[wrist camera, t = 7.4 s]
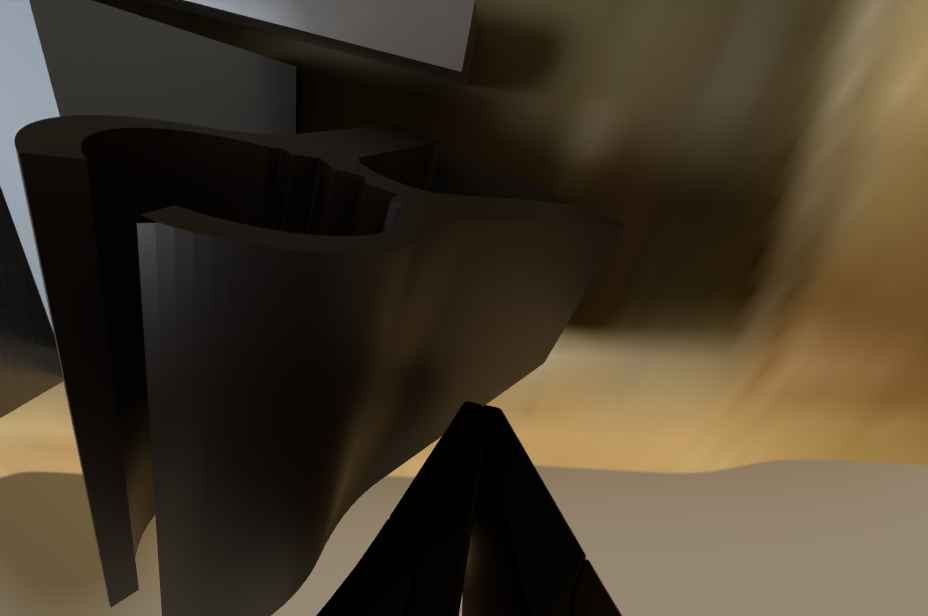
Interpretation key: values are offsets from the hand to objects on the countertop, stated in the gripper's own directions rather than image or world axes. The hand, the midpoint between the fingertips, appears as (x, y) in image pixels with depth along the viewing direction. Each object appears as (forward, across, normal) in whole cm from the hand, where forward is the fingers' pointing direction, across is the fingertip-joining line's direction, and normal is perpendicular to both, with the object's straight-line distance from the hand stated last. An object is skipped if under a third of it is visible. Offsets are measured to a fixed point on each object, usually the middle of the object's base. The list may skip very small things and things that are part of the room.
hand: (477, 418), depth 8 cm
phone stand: (+8, +1, -2) cm, 8 cm away
